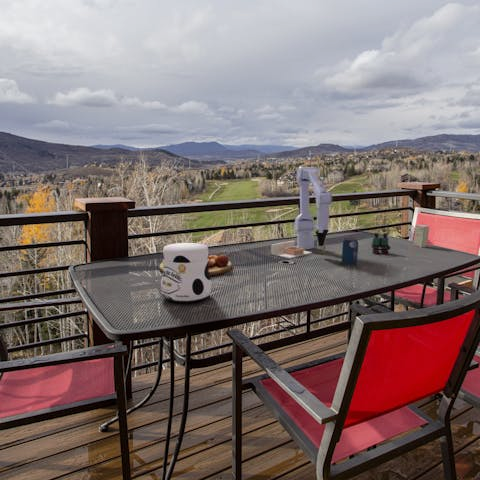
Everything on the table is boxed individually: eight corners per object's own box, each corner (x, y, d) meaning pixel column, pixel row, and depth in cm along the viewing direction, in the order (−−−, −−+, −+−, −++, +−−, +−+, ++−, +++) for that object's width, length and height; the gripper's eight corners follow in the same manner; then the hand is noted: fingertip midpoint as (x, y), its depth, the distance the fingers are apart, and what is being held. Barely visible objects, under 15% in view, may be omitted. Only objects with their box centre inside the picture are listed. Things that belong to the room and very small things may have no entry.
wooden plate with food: (245, 266, 185) (245, 248, 183) (200, 282, 159) (200, 261, 157) (192, 258, 202) (192, 241, 201) (143, 271, 177) (143, 252, 175)
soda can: (357, 266, 186) (359, 240, 184) (341, 265, 188) (343, 239, 185) (356, 262, 193) (358, 237, 191) (341, 261, 194) (342, 237, 192)
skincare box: (413, 245, 234) (415, 224, 232) (418, 245, 236) (420, 224, 234) (422, 247, 229) (424, 226, 226) (427, 247, 230) (429, 225, 228)
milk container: (153, 304, 134) (152, 251, 131) (170, 288, 151) (169, 241, 147) (204, 308, 131) (204, 254, 128) (216, 291, 148) (216, 243, 145)
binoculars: (375, 237, 206) (371, 231, 215) (373, 256, 209) (369, 250, 218) (393, 237, 205) (388, 232, 215) (391, 257, 208) (386, 251, 218)
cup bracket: (293, 249, 220) (293, 240, 219) (312, 253, 211) (312, 243, 210) (271, 254, 208) (271, 244, 207) (290, 258, 199) (290, 248, 198)
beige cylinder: (320, 247, 204) (321, 233, 202) (327, 248, 201) (327, 234, 199) (315, 248, 201) (316, 234, 199) (322, 249, 198) (323, 235, 197)
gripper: (316, 215, 206) (315, 241, 208) (312, 219, 192) (311, 247, 195) (330, 215, 204) (329, 242, 206) (327, 219, 190) (326, 248, 193)
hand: (321, 244), depth 200 cm, fingers closed on beige cylinder, 4 cm apart
